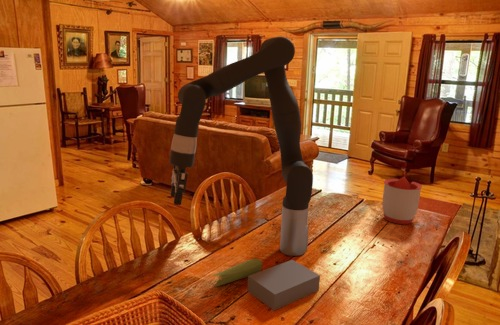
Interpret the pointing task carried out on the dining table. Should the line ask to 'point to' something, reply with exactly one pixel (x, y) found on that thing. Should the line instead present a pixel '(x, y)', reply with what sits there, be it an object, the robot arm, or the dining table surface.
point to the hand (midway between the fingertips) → (175, 200)
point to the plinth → (283, 284)
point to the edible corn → (239, 271)
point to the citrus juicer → (400, 200)
